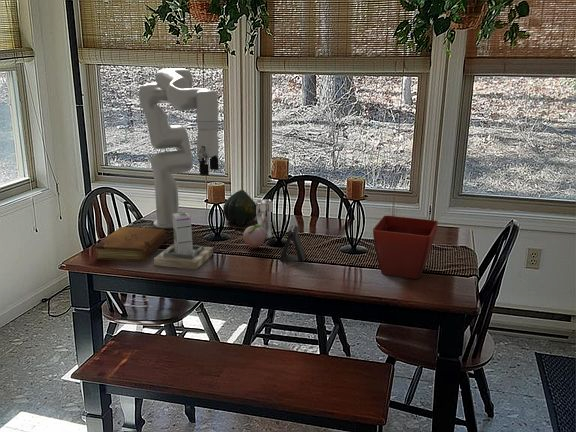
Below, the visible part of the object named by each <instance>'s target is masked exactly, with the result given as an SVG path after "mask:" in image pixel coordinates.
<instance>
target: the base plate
mask: <svg viewBox="0 0 576 432" xmlns="http://www.w3.org/2000/svg"><path fill="white" fill-rule="evenodd" d="M192 245H193V253H192V254H190V255H184V254H176V252H175V247H174V243H172V244H171V245H170V246H168V247H167V248H166V249H164V250H163V251H161V253H158V255H156V256H155V257H153V265H154V266H161V267H169V268H179V269H186V270H187V269H188V270H197V269H198V268H199V267H201V266H202V265H203V264H204V263H205V262H206V261H207V260H208V259H209V258H210V257H212V255H214V247H212V246H211V247H210V246H204V245H197V244H196V245H194V244H192Z"/></svg>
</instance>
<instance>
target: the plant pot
mask: <svg viewBox="0 0 576 432" xmlns="http://www.w3.org/2000/svg"><path fill="white" fill-rule="evenodd" d="M438 224H439V221H438V220H434V219H433V220H432V219H425V218H424V219H423V218H415V217H414V218H413V217H408V216H407V217H405V216H398V215H397V216H395V215H384V216H383V217H381V219H380V220H379V221H378V223H377V224H376V225H375V226H374V227H373V229H372V237H373V242H374V250H375V254H376V259H377V262H378V266H379V269H380V271H381V274H382V275H384V276H385V275H387V276H394V277H401V278H407V279H414V280H418V279H419V278H420V277H421V276H422V273H423V270H424V268H425V267H426V265H427V262H428V259H429V257H430V253H431V251H432V247H433V244H434V240H435V237H436V232H437V230H438Z"/></svg>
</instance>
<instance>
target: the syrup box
mask: <svg viewBox="0 0 576 432" xmlns="http://www.w3.org/2000/svg"><path fill="white" fill-rule="evenodd" d="M172 216H173V228H172V229H173V231H172V232H173V244H174V247H175V252H176V254H184V255H190V254H192V253H193V245H194V244H193V231H192V217H191V215H190V214H189V213H188V212H182V213H176V214H172Z"/></svg>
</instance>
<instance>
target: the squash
mask: <svg viewBox="0 0 576 432" xmlns="http://www.w3.org/2000/svg"><path fill="white" fill-rule="evenodd" d="M226 201H227V202H226ZM226 201H225V202H226V203H225V202H224V204H223V207H222V208H223V209H222V210H223V215H224V218H225V220H226V221H228V222H229V223H236V224H237V225H238V226H240V227H241V226H243V225H248V224H250V223H251V222H253V221H254V220H255V219H256V201H255V200H253V199H252V197H251V196H250V195H249V194H248V192H246V190H244V189H241V190H237V191H236V192H234V193H233V194H231V195H230V196H229V197H228V198H227V199H226Z"/></svg>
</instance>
